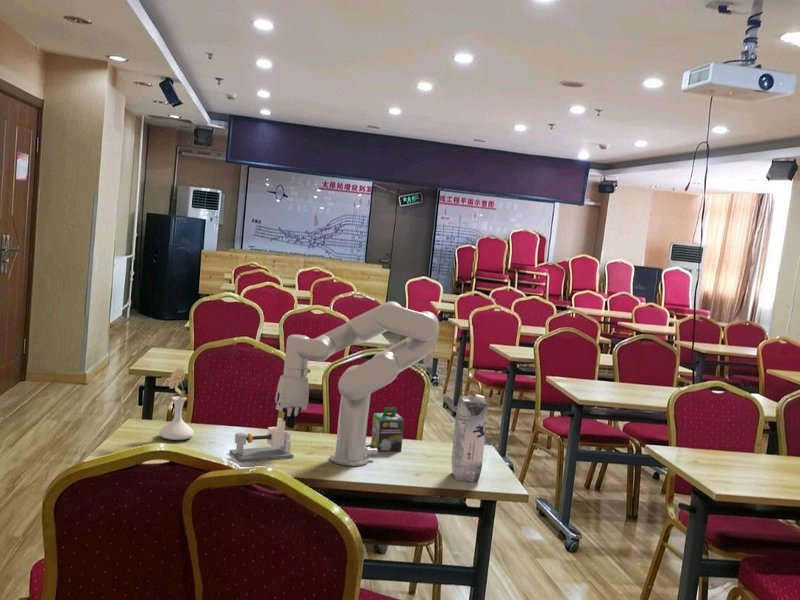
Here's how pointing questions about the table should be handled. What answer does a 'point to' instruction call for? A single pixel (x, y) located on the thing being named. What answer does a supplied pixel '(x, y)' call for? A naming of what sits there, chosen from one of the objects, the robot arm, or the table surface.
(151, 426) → the table surface
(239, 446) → the connector
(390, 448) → the chalk box
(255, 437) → the lead screw with knob
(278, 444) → the cream tall block
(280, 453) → the mini bench vise
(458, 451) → the juice carton
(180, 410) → the flower in vase
